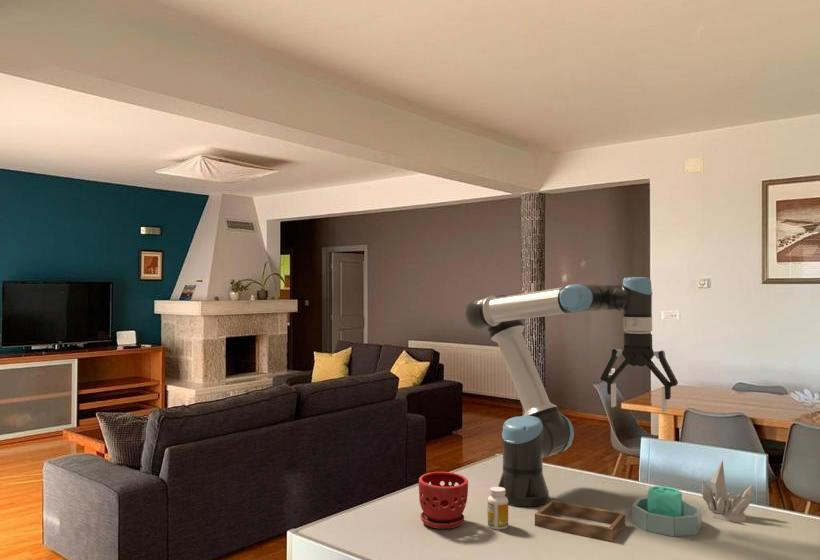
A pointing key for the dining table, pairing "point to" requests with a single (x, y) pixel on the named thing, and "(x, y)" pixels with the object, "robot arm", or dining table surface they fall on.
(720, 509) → the crystal
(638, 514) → the bowl
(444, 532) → the dining table surface
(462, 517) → the plant pot
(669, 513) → the decorative dice
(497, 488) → the supplement bottle
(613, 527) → the rectangular frame
